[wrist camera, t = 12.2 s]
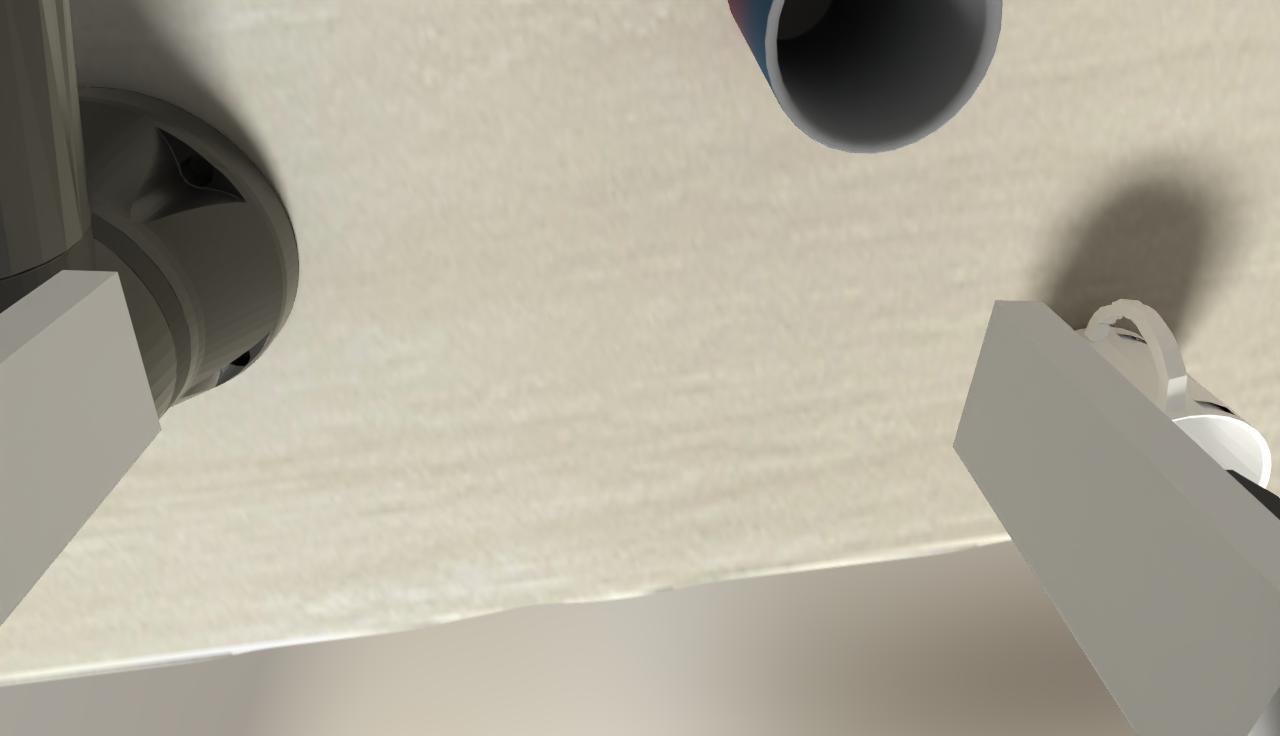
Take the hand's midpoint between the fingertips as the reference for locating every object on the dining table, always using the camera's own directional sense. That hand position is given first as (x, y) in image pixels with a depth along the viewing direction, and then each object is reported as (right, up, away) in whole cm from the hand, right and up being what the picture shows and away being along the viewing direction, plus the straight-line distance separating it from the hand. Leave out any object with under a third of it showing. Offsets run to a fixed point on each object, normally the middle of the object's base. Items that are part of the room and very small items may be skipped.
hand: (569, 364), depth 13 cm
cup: (+7, +17, +24) cm, 30 cm away
